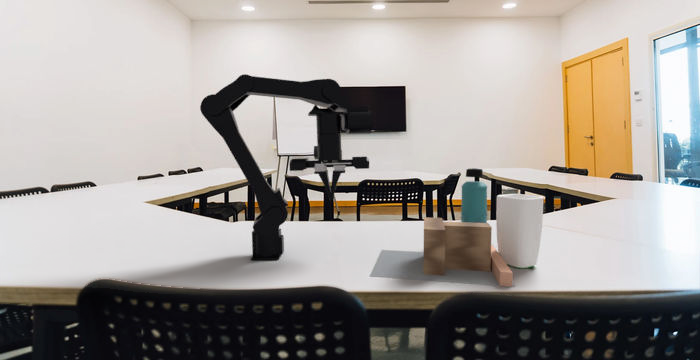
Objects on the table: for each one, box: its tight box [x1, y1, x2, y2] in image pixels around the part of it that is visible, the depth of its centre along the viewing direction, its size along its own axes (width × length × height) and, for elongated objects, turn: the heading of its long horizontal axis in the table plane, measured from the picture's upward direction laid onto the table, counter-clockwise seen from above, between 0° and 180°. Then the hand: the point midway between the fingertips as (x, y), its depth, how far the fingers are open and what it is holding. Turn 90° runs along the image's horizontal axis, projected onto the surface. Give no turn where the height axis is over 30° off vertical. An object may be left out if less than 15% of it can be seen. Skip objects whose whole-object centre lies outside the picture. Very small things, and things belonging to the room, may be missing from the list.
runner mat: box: [369, 244, 516, 288], centre depth 71 cm, size 26×18×3 cm
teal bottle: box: [460, 167, 489, 223], centre depth 87 cm, size 6×7×20 cm
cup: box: [495, 193, 544, 269], centre depth 71 cm, size 7×7×15 cm
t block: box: [423, 216, 492, 276], centre depth 70 cm, size 13×12×9 cm
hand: (331, 199), depth 82 cm, fingers closed
